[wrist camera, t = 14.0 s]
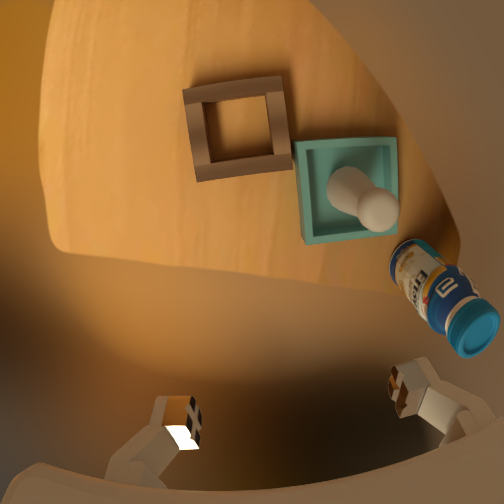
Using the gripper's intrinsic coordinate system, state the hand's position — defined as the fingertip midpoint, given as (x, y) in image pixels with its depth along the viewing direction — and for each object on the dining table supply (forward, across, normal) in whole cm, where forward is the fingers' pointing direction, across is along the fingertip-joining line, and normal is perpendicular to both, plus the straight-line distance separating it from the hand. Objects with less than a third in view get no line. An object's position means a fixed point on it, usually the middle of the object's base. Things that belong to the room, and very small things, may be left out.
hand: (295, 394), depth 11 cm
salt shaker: (+30, -11, -1) cm, 32 cm away
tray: (+31, -11, -1) cm, 33 cm away
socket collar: (+31, +1, -10) cm, 33 cm away
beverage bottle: (+31, -22, +12) cm, 40 cm away
